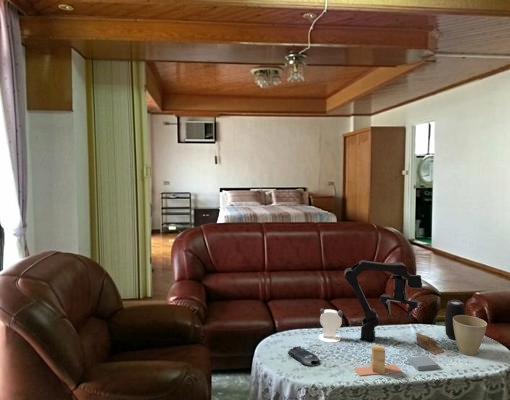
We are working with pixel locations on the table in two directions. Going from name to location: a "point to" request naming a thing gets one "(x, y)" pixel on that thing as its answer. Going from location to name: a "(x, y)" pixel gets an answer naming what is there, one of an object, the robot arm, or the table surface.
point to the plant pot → (469, 333)
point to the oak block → (378, 359)
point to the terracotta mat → (368, 371)
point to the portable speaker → (453, 310)
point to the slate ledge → (423, 363)
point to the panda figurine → (330, 325)
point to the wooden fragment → (428, 344)
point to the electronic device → (303, 355)
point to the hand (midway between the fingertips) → (398, 317)
